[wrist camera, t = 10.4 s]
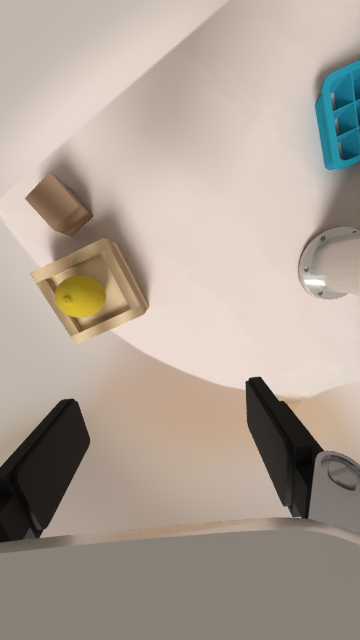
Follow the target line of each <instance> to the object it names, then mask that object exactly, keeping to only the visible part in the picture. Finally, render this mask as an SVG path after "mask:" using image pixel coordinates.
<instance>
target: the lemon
mask: <svg viewBox="0 0 360 640" xmlns="http://www.w3.org/2000/svg"><path fill="white" fill-rule="evenodd" d="M55 301H56V304H57V306H58V307H59V309H60V310H61V311H62V312H64V313H65V314H67V315H69V316H72V317H77V318H83V317H89V316H92V315H94V314H96V313H98V312H99V311H100V310H101V309H102V308H103V306H104V304H105V301H106V292H105V289H104V287H103V286H102V284H101V283H100V282H99V281H97V280H96V279H94V278H92V277H89V276H84V275H77V276H71V277H69V278H67V279H65V280H63V281H62V282H61V283H60V284H59V285H58V287H57V288H56V291H55Z"/></svg>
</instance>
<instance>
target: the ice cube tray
mask: <svg viewBox="0 0 360 640" xmlns="http://www.w3.org/2000/svg"><path fill="white" fill-rule="evenodd" d="M353 83H354V85H353ZM354 89H355V93H354ZM332 92H334V96H335V103H336V110H335V111H333V109H332V102H331V95H330V93H332ZM321 94H322V95H321V96H320V97H319V99H318V100H317V103H316V105H315V109H316V115H317V121H318V127H319V133H320V139H321V145H322V151H323V157H324V163H325V167H326V168H327V169H328V170H332V169H344V168H346V167H349V166H351V165H353V164H355V163H358V162H360V136H359V133H360V60H358V61H356V62H353V63H351V64H349V65H347V66H345V67H343V68H341V69H339V70H337V71H335V72H332V73H331V74H330V75H329V76H328V77H327V78H326V79H325V80H324V82H323V84H322V88H321ZM355 98H356V101H355ZM356 109H357V110H356ZM357 115H358V119H357ZM336 118H338V124H339V131H340V136H336V129H335V122H334V119H336ZM358 124H359V127H358ZM340 141H341V145H342V153H343V160H342V159H340V156H339V150H338V142H340Z"/></svg>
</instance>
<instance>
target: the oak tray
mask: <svg viewBox="0 0 360 640" xmlns="http://www.w3.org/2000/svg"><path fill="white" fill-rule="evenodd" d="M30 275H31V276H32V278H33V279H34V281H35V282H36V284H37V286H38V287H39V289H40V290H41V292H42V293H43V295H44V296H45V298H46V299H47V301H48V302H49V304H50V305H51V307H52V309H53V310H54V312H55V313H56V314H57V316H58V318H59V319H60V321H61V322H62V324H63V325H64V327H65V329H66V330H67V332H68V333H69V335H70V336H71V338H72V339H73V341H74V342H75V344H76V345H77V344H79V343H81V342H83V341H85V340H88V339H90V338H92V337H94V336H97V335H99V334H101V333H103V332H105V331H108V330H110V329H112V328H115V327H117V326H119V325H121V324H123V323H126V322H128V321H130V320H132V319H135V318H137V317H139V316H141V315H143V314H145V312H146V310H147V309H148V307H149V306H148V304H147V302H146V300H145V298H144V296H143V294H142V292H141V290H140V288H139V286H138V284H137V282H136V280H135V278H134V276H133V274H132V272H131V270H130V268H129V266H128V264H127V262H126V260H125V258H124V256H123V254H122V252H121V250H120V248H119V246H118V244H117V243H115V242H113V241H111V240H109V239H107V238H105V237H104V238H102V239H100V240H98V241H96V242H94V243H92V244H90V245H87V246H85V247H83V248H81V249H79V250H77V251H75V252H73V253H71V254H69V255H67V256H65V257H63V258H61V259H59V260H57V261H55V262H52V263H50V264H48V265H46V266H44V267H42V268H40V269H38V270H36V271H34V272H32V273H30ZM77 275H84V276H89V277H92V278H94V279H96V280H97V281H99V282H100V283H101V284H102V286H103V287H104V289H105V292H106V301H105V304H104V306H103V308H102V309H101V310H100V311H99V312H98V313H96V314H94V315H92V316H89V317H83V318H77V317H72V316H69V315H67V314H65V313H64V312H62V311H61V310H60V309H59V307H58V306H57V304H56V301H55V291H56V288H57V287H58V285H59V284H60V283H61V282H62V281H63V280H65V279H67V278H69V277H71V276H77Z"/></svg>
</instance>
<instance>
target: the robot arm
mask: <svg viewBox="0 0 360 640" xmlns="http://www.w3.org/2000/svg"><path fill="white" fill-rule="evenodd" d="M299 278H300V281H301V284H302V286H303V287H304V289H305V290H306V291H307V292H308V293H309V294H310V295H312V296H314V297H317V298H320V299H329V300H331V299H337V298H340V297H343V296H345V295H347V294H355V295H360V231H359V230H357V229H355V228H353V227H348V226H340V227H335V228H331V229H328V230H326V231H324V232H322V233H320V234H318V235H317V236H316V237H315V238H314V239H313V240H312V241H311V242H310V243H309V244H308V245H307V247H306V249H305V250H304V252H303V254H302V257H301V260H300V264H299ZM246 404H247V423H248V427H249V430H250V432H251V434H252V437H253V439H254V441H255V444H256V446H257V448H258V450H259V453H260V455H261V457H262V459H263V462H264V464H265V466H266V468H267V471H268V473H269V475H270V478H271V480H272V482H273V484H274V487H275V489H276V491H277V494H278V496H279V498H280V500H281V502H282V504H283V506H288V508H289V510H290V512H291V514H292V517H301V518H260V519H246V520H230V521H218V522H207V523H196V524H183V525H172V526H160V527H151V528H139V529H128V530H118V531H107V532H97V533H86V534H76V535H67V536H57V537H47V538H40V535H41V534H42V532H43V530H44V529H46V528H47V526H48V525H49V523H50V521H51V519H52V518H53V516H54V514H55V512H56V510H57V508H58V506H59V504H60V502H61V500H62V498H63V496H64V494H65V492H66V490H67V488H68V486H69V484H70V482H71V480H72V478H73V476H74V474H75V472H76V470H77V468H78V466H79V464H80V463H81V461H82V459H83V457H84V454H85V452H86V451H87V449H88V447H89V444H90V437H89V434H88V431H87V428H86V425H85V422H84V419H83V416H82V413H81V410H80V407H79V404H78V402H77V401H75V400H74V399H64V400H61V401H60V402H59V403H58V404H57V405H56V406H55V407H54V408H53V409H52V411H51V412H50V413H49V414H48V415H47V416H46V417H45V418H44V419H43V421H42V422H41V423H40V424H39V425H38V426H37V427H36V429H34V431H33V432H32V433H31V434H30V435H29V436H28V437H27V438H26V440H25V441H24V442H23V443H22V444H21V445H20V446H19V447H18V448H17V449H16V451H15V452H14V453H13V454H12V455H11V456H10V457H9V458H8V459H7V461H6V462H5V463H4V464H3V465H2V466H1V467H0V640H360V465H359V464H358V463H357V462H355V461H354V460H353V459H351V458H349V457H347V456H345V455H343V454H341V453H338V452H334V451H324V450H323V449H322V448H321V447H320V445H319V444H318V443H317V441H316V440H315V439H314V438H313V436H312V435H311V434H310V433H309V431H308V430H307V429H306V428H305V426H304V425H303V424H302V423H301V421H300V420H299V419H298V418H297V416H296V415H295V414H294V413H293V411H292V410H291V409H290V408H289V406H288V405H287V404H286V403H285V402H284V401H279V400H278V399H277V398H276V397H275V395H274V394H273V393H272V391H271V390H270V389H269V387H268V386H267V385H266V383H265V382H264V381H263V379H262V378H261V377H253V378H249V381H246Z"/></svg>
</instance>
